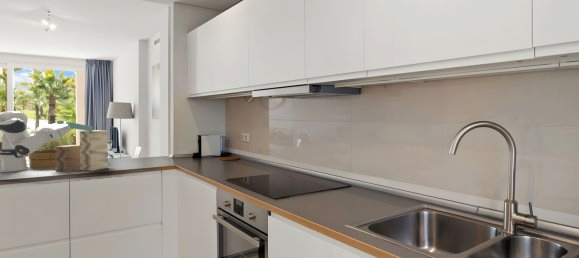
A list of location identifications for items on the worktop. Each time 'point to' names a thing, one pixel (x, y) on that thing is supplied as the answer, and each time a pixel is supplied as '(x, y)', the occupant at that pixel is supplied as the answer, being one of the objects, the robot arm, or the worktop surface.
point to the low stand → (67, 157)
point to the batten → (77, 126)
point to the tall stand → (93, 150)
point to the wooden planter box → (42, 159)
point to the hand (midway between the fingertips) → (63, 122)
